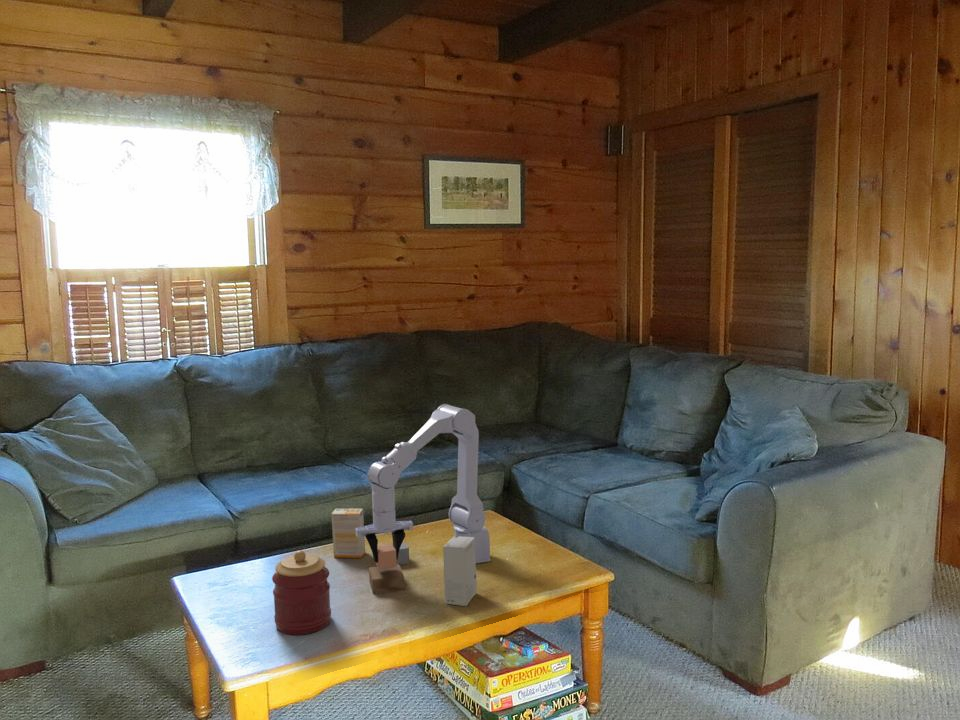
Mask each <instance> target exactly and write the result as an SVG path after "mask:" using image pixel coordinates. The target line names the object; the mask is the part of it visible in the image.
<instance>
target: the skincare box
mask: <svg viewBox="0 0 960 720" xmlns="http://www.w3.org/2000/svg"><path fill="white" fill-rule="evenodd" d="M442 552H443V554H442V555H443V581H444V583H443V584H444V586H443V587H444V603H445V604H447V605H456V606H460V607H467V606H468V604H469V603H470V602H471V600H472V599H473V598H474V597H475V596H476V594H477V591H478V590H477V588H478V587H477V567H476V564H477V563H476V560H475V538H474V537H461V536H452V538H451V539H449V540H448V541H447V543H445V544H444V546H442Z"/></svg>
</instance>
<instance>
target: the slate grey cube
mask: <svg viewBox="0 0 960 720" xmlns="http://www.w3.org/2000/svg"><path fill="white" fill-rule="evenodd" d="M391 544H392V545H393V543H391ZM405 563H408V564H410V548H409V546H408V544H407V543H406V542H402V544H401V547H400V550H399V554H398V559H397V560H396V564H402V565H406V564H405Z"/></svg>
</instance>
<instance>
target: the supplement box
mask: <svg viewBox="0 0 960 720" xmlns="http://www.w3.org/2000/svg"><path fill="white" fill-rule="evenodd" d="M364 521H365V519H364V508H338V507H337V508H335V509H334V510H333V511H332V512H331V530H332V544H333V558H344V559H345V558H347V559H348V558H349V559H351V558H353V559H354V558H355V559H357V558H358V559H362V558H363V556H364V555H365V553H366V537H365V536H362V537H360V538H357V536H356V528H360V527H364V526H365V522H364Z"/></svg>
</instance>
